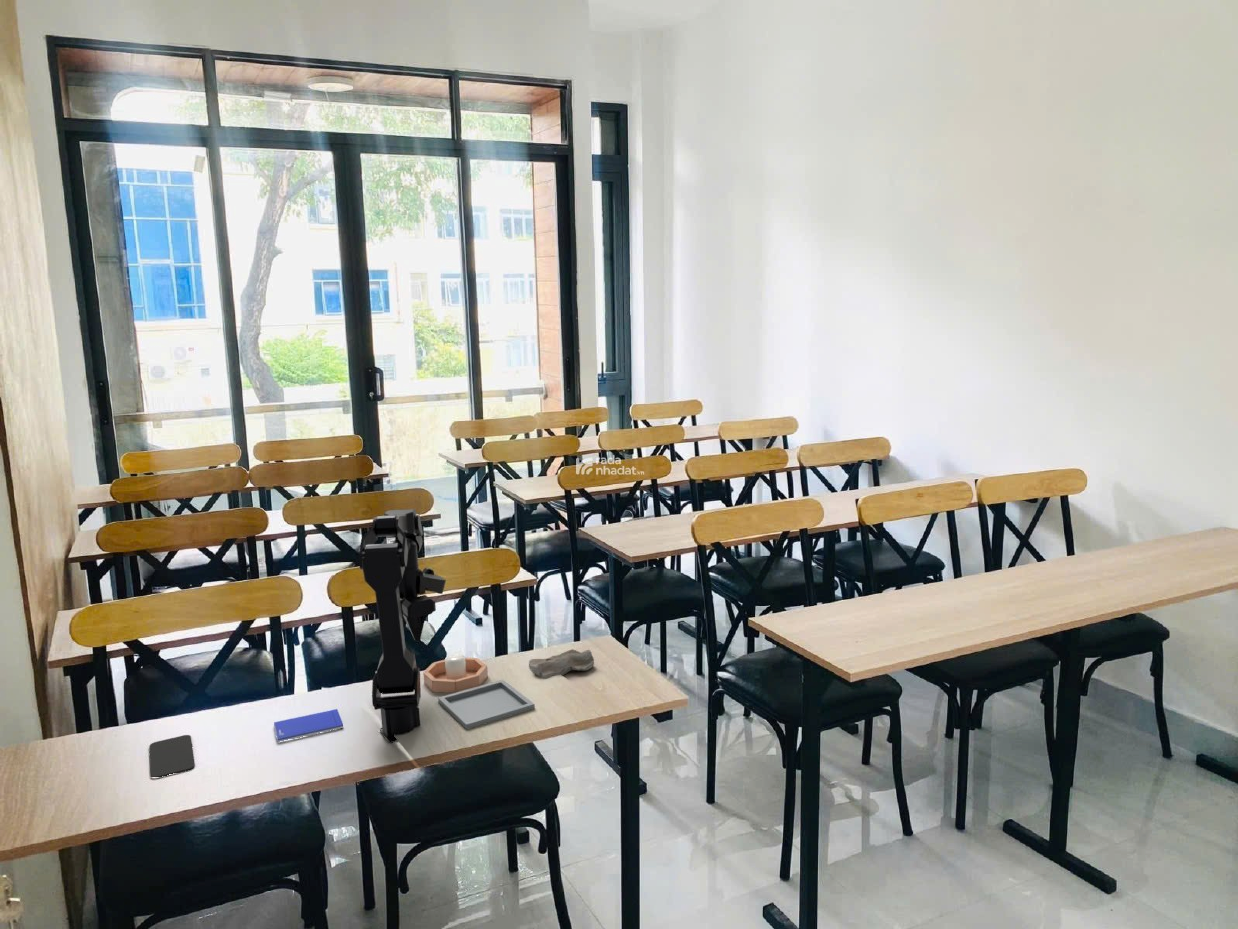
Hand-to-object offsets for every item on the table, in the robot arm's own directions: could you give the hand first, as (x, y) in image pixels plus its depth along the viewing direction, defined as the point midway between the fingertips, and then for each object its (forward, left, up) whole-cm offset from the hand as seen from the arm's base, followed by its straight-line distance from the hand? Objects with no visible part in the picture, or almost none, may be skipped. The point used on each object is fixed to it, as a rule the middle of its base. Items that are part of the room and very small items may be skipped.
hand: (410, 634), depth 192 cm
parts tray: (+8, -21, -12) cm, 25 cm away
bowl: (+8, -5, -12) cm, 15 cm away
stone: (+30, -13, -13) cm, 35 cm away
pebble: (+8, -5, -11) cm, 14 cm away
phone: (-49, -3, -13) cm, 51 cm away
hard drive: (-25, -6, -13) cm, 28 cm away
